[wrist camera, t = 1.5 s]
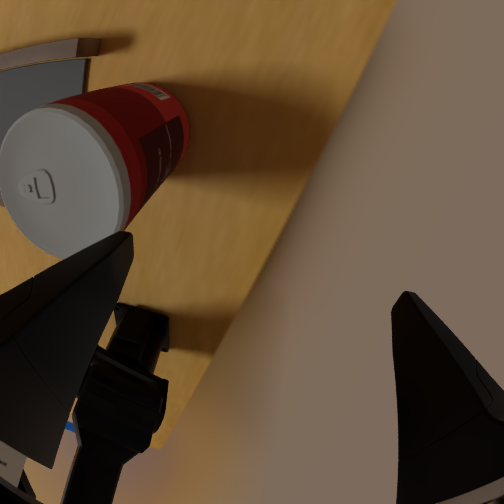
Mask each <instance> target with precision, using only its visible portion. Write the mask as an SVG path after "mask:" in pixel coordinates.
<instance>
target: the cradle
mask: <svg viewBox="0 0 504 504" xmlns="http://www.w3.org/2000/svg"><path fill="white" fill-rule="evenodd" d="M100 40H101V39H92V38H75V39H68V40H61V41H55V42H50V43H44V44H39V45H35V46H30V47H26V48H22V49H18V50H14V51H10V52H7V53H3V54H0V70H2V69H6V68H11V67H15V66H20V65H25V64H31V63H37V62H43V61H50V60H57V59H66V58H76V57H88V56H98V53H99V47H100ZM0 206H4V207H5V204H4V201H3V198H2V195H1V192H0Z"/></svg>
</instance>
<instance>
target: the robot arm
mask: <svg viewBox="0 0 504 504" xmlns="http://www.w3.org/2000/svg"><path fill="white" fill-rule="evenodd" d="M133 258H134V247H133V235H132V234H131V233H130V232H126V231H118V232H116V233H114V234H112V235H110V236H108V237H106V238H104V239H102V240H100V241H98V242H96V243H94V244H92V245H90V246H88V247H86V248H84V249H82V250H80V251H79V252H77V253H75V254H73V255H71V256H69V257H67V258H65V259H64V260H62V261H60V262H58V263H56V264H55V265H53V266H51V267H49V268H47V269H46V270H44V271H42V272H40V273H39V274H37V275H35V276H34V278H33V277H32V278H30V279H28V280H27V281H25V282H23V283H21V284H20V285H18V286H16V287H14V288H13V289H11V290H9V291H7V292H5V293H3V294H1V295H0V504H43V503H41V502H39V501H38V500H36V495H35V493H34V491H33V489H32V487H31V485H30V483H29V481H28V478H27V476H26V474H25V472H24V469H23V467H24V464H25V461H26V458H27V457H29V458H30V459H32V460H34V461H36V462H38V463H40V464H42V465H44V466H46V467H48V468H50V469H52V467H53V465H54V461H55V457H56V454H57V451H58V448H59V445H60V441H61V438H62V435H63V432H64V429H65V426H66V423H67V420H68V418H69V415H70V411H71V409H72V406H73V403H74V401H75V398H78V400H77V402H76V405H75V407H74V410H73V413H72V419H73V424H74V429H75V433H76V438H77V443H78V447H77V450H76V453H75V456H74V459H73V462H72V465H71V468H70V472H69V475H68V478H67V482H66V485H65V489H64V492H63V496H62V500H61V503H60V504H112V502H113V498H114V494H115V491H116V487H117V483H118V480H119V477H120V473H121V470H122V467H123V465H124V464H125V463H126V462H127V461H129V460H130V459H132V458H133V457H134V456H136V455H137V454H138V453H143V452H144V451H145V450H146V449H147V448H148V447H149V446H150V442H151V438H152V434H153V433H155V432H156V431H157V430H158V429H159V427H160V425H161V423H162V421H163V418H164V415H165V410H166V401H167V392H168V383H169V381H168V380H166V379H162V378H160V377H158V376H156V375H153V373H154V370H155V367H156V364H157V361H158V358H159V354H160V351H163V352H168V350H169V318H168V317H167V316H165V315H161V314H157V313H153V312H149V311H145V310H141V309H137V308H134V307H130V306H126V305H123V304H119V303H117V301H118V299H119V296H120V294H121V291H122V288H123V285H124V283H125V280H126V277H127V275H128V272H129V269H130V267H131V264H132V262H133ZM113 310H114V315H115V320H116V325H117V326H116V328H115V330H114V332H113V334H112V336H111V338H110V341H109V343H108V345H107V347H106V349H103V348H102V347H100V346H99V345H98V342H99V340H100V338H101V335H102V333H103V331H104V329H105V327H106V324H107V322H108V320H109V318H110V316H111V314H112V312H113ZM391 321H392V349H393V361H394V370H395V380H396V395H397V410H398V411H397V412H398V447H399V448H398V451H399V452H398V460H399V461H398V483H397V499H396V504H504V390H503V389H502V388H501V387H500V386H499V385H498V384H497V383H496V382H495V380H494V379H493V378H492V377H491V376H490V375H489V374H488V372H487V371H486V370H485V369H484V368H483V367H482V365H481V364H480V363H479V362H478V361H477V360H475V357H474V356H473V355H472V354H471V353H470V351H469V350H468V349H467V348H466V347H465V346H464V345H463V343H462V342H461V341H460V340H459V339H458V338H457V337H456V336H455V335H454V333H453V332H452V331H451V330H450V329H449V328H448V327H447V326H446V325H445V324H444V322H443V321H442V320H441V319H440V318H439V317H438V316H437V315H436V314H435V313H434V312H433V311H432V310H431V309H430V308H429V307H428V306H427V305H426V304H425V302H424V301H423V300H422V299H420V298H419V296H418V295H417V294H416V293H413V292H409V291H404V292H403V293H402V294H401V296H400V297H399V299H398V300H397V302H396V303H395V304H394V306H393V308H392V311H391Z"/></svg>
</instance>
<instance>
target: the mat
mask: <svg viewBox="0 0 504 504" xmlns="http://www.w3.org/2000/svg"><path fill="white" fill-rule="evenodd" d="M86 66H87V59H80V60H69V61H59V62H51V63H44V64H37V65H31V66H26V67H20V68H15V69H11V70H6V71H2V72H0V149H1V145H2V142H3V140H4V138H5V136H6V134H7V132H8V130H9V129H10V128H11V126H12V125H13V124H14V123H15V121H16V120H18V119H19V118H20V117H22V116H23V115H24V114H26V113H28V112H30V111H32V110H33V109H35V108H38V107H40V106H43V105H45V104H49V103H52V102H54V101H57V100H60V99H63V98H67V97H71V96H74V95H78V94H82V93H84V86H85V75H86Z"/></svg>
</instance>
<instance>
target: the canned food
mask: <svg viewBox="0 0 504 504" xmlns="http://www.w3.org/2000/svg"><path fill="white" fill-rule="evenodd" d="M189 136H190V129H189V121H188V118H187V115H186V112H185V110H184V108H183V106H182V105H181V103H180V102H179V101H178V100H177V99H176V98H175V96H174V95H172V94H171V93H170V92H168V91H167V90H165V89H164V88H161V87H159V86H157V85H154V84H149V83H130V84H124V85H119V86H114V87H109V88H104V89H99V90H95V91H91V92H86V93H82V94H78V95H74V96H71V97H67V98H63V99H60V100H57V101H54V102H52V103H49V104H45V105H43V106H40V107H38V108H35V109H33V110H32V111H30V112H28V113H26V114H24V115H23V116H22V117H20V118H19V119H18V120H16V121H15V123H14V124H13V125H12V126H11V128H10V129H9V130H8V132H7V134H6V136H5V138H4V140H3V142H2V145H1V149H0V192H1V195H2V198H3V201H4V204H5V207H6V209H7V211H8V213H9V215H10V217H11V218H12V220H13V221H14V223H15V224H16V226H17V227H18V229H19V230H20V231H21V232H22V233H23V234H24V236H25V237H26V238H27V239H28V240H30V241H31V242H32V243H33V244H34V245H35V246H37V247H38V248H40V249H41V250H43V251H45V252H46V253H48V254H50V255H53V256H55V257H57V258H61V259H65V258H67V257H69V256H71V255H73V254H75V253H77V252H79V251H80V250H82V249H84V248H86V247H88V246H90V245H92V244H94V243H96V242H98V241H100V240H102V239H104V238H106V237H108V236H110V235H112V234H114V233H116V232H118V231H124V230H125V229H126V228H127V226H128V225H129V224H130V222H131V221H132V220H133V219H134V217H135V216H136V215H137V213H138V212H139V211H140V210H141V208H142V207H143V206H144V205H145V203H146V202H147V201H148V200H149V199H150V197H151V196H152V195H153V194H154V192H155V191H156V190H157V189H158V188H159V186H160V185H161V184H162V183H163V182H164V181H165V179H166V178H167V177H168V176H169V175H170V174H171V172H172V171H173V170H174V169H175V168H176V167H177V166H178V164H179V163H180V162H181V161H182V159H183V157H184V155H185V153H186V151H187V147H188V144H189Z"/></svg>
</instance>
